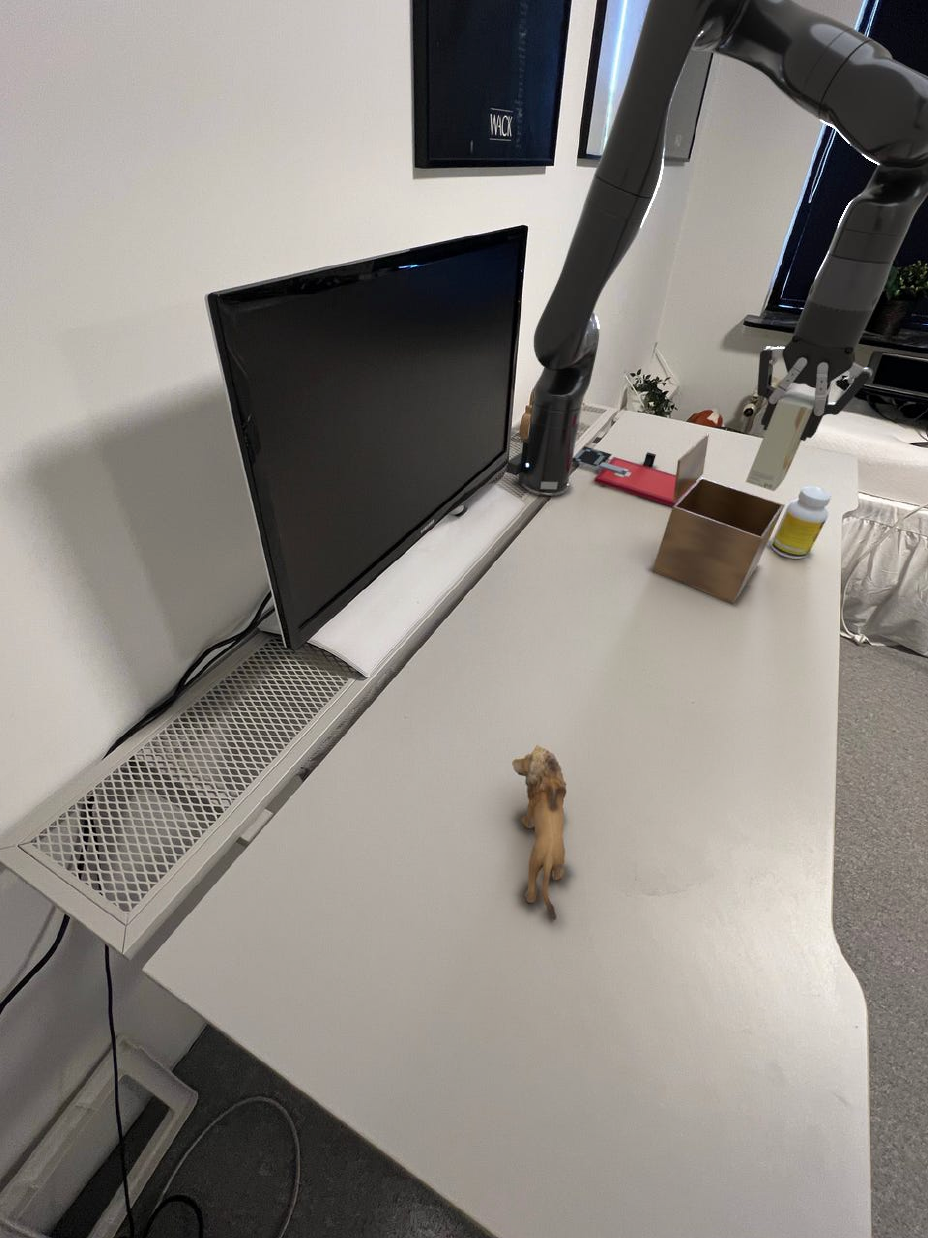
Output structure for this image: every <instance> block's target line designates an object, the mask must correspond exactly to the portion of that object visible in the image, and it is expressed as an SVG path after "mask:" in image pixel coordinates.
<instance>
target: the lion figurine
mask: <svg viewBox="0 0 928 1238" xmlns="http://www.w3.org/2000/svg"><path fill="white" fill-rule="evenodd" d="M511 765H512V767H513V770H514V772H515V773H517V775H518V776H522V777H525V780H524V781H525V782H524V784H525V786H526V793H527V795H526V796H527V799H528V803H527V806H526V816H523V817H522V819H521V824H522V825H523V826H524V827H526V828H527V829H530V828H531V829H532V828H533V827H534V834H535V838H536V841H535V842H534V844H533V847H532V849H531V851H530V857H529V860H528V868H527V869H528V870H527V871H528V872H527V873H528V887H527V890H526V891H525V892H524V899H525V902H527V903H531V904H532V903H535V902H536V900H537V893H538V888H537V878H538V875H539V872H540V871H541V870H542V871H543V872H542V879H541V896H542V899H543V902H544V904H545V907H546V910H547V915H548V916H549V918H550V919H551V920H553V921H556V920H557V914H556V911H555V906H554V905H553V904H552V902H551V900H550V898H549V893H548V892H549V891H548V890H549V889H548V888H549V882H550V876H551V877H552V880H554V881H558V880H561V879H562V878H563V876H564V874H565V871H564V869H563V866H564V864H565V858H566V848H565V840H564V837H563V833H564V823H565V812H564V807H563V805H564V801H565V800H564V799H565V797H566V794H567V787H566V786H567V783H566V782H565V780H564V776H563V772H562V767H561V766H560V765H559V761H558V760H557V758H556V756H555V754H554V753H553V752H550V751H549V750H548V749H547V748H545V747H542V746H540V745H539V744H536V745H535V747H534V749H533V750H532V751H531V753H528V754H526V755H525V756H524V757H523V758H515V759H513V760H512V763H511ZM542 868H543V869H542Z"/></svg>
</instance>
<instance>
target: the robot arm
mask: <svg viewBox="0 0 928 1238" xmlns="http://www.w3.org/2000/svg"><path fill="white" fill-rule="evenodd" d="M691 51H695V52H708V53H712V54H716V55H719V56H723V57H726V58H729V59H732V60H736V61H738V62H741V63H743V64H745V65H747V66H748V67H751V68H752V69H754V70H756V71H757V72H758V73H760V74H761V75H762V76H763V77H765V78H766V79H767V80H768V82H770V83H771V84H772V85H773V87H774V88H776V89H777V90H778V92H780V94H782V95H783V96H784V97H786V98H787V99H788V100H789V101H791V102H792V103H793V104H795V105H796V106H798V107H799V108H800V109H802V110H804V111H805V112H807V113H808V114H810V115H811V116H812V117H814V118H816V119H817V120H819V121H821V122H822V123H824V124H826V125H827V126H830V127H832V128H834V129H835V130H836V131H837V132H838V133H839V135H840V136H841V137H842V138H843V139H844V140H845V141H846V142H847V143H848V144H850V146H852V147H853V149H855V150H856V151H857V152H858V153H860V154H861V155H862V156H864V157H865V158H866V159H868V160H869V161H871V162H873V163H875V164H877V166H876V167H875V170H874V172H873V173H872V176H871V178H870V180H869V181H868V184H867V186H866V187H865V188H864V190H863V191H862V192H861V193H860V194H858V195H857V196H856V197H854V198H853V199H852V200H851V201H850V202H849V203H848V205H847V206H846V208H845V210H844V212H843V214H842V216H841V218H840V220H839V223H838V226H837V228H836V230H835V232H834V236H833V238H832V240H831V242H830V243H831V244H830V245H829V249H828V250H827V253H826V256H825V258H824V260H823V262H822V264H821V266H820V267H819V270H818V271H817V273H816V276H815V278H814V281H813V283H812V284H811V286H810V289H809V291H808V296H807V299H806V302H805V304H804V306H803V309H802V310H801V311H802V312H801V314H800V317H799V319H798V322H797V324H796V326H795V329H794V332H793V335H792V337H791V339H790V341H788V343H786V344H785V345H784V346H780V347H779V346H777V347H774V346H772V345H769V346H765V348H763V350H761V351H760V353H759V360H758V361H759V362H758V375H757V389H756V390H757V391H756V393H757V395H758V396H759V397H763V398H765V399H766V400H767V405H766V408H765V410H764V412H763V415H762V417H761V420H760V425H762V426H763V428H762V430H763V431H766V430H767V428H768V425H769V423H770V420H771V418H772V415H773V413H774V410H775V408H776V405H777V403H778V401H779V400H780V399H781V398H782V397H783V395H784V394H786V393H787V392H788V391H789V388H791V386H792V385H793V384H796V385H806V386H808V387H810V388H813V389H814V396H815V405H814V411H813V412H812V414H811V415H810V417H809V419H808V422H807V424H806V426H805V428H804V431H803V433H802V435H801V437H800V440H801V442H802V441H803V442H806V440H807V439H811V438H812V437H813V436H814V435H815V434H816V433H817V431H818V428H819V425H820V424H821V422H822V420H823V417H825V416H826V415H833V416H837V415H839V414H840V413H841V412H842V411H843V410H844V408H845V407H846V406H847V405H848V404H849V403H850V402H851V401H852V399H853V398H854V397H855V396H856V395H857V394H858V393H859V391H860V390H861V389H862V388H863V387H864V386H865V385H866V383H867V382H868V381H869V380H870V379H871V377H872V375H873V373H874V370H873V368H872V367H863V366H861V365H860V364H858V363H856V362H855V361H856V357H855V353H856V349H857V348H858V345H859V343H860V340H861V339H862V336H863V334H864V332H865V329H867V325H868V323H869V322H870V319H871V316H872V314H873V313H874V310H875V308H876V306H877V304H878V302H879V300H880V298H881V295H882V293H883V291H884V288H885V286H886V284H887V282H888V278H889V275H890V272H891V269H892V266H893V264H894V261H895V259H896V256H897V255H898V252H899V250H900V248H901V246H902V244H903V242H904V239H905V237H906V235H907V233H908V231H909V228H910V226H911V223H912V221H913V218H914V216H915V215H916V213H917V211H918V209H919V208H920V206H922V203H924V201H925V200H926V198H927V196H928V76H927V75H926V74H923V73H921V72H919V71H917V70H915V69H913V68H911V67H908V66H907V65H905V64H903V63H901V62H899V61H897V60H896V59H893V56H892V54H891V53H890V51H889V50H888V49H887V48H885V47H884V46H883V45H882V44H880V43H879V42H877V41H875V40H874V39H872V38H871V37H869V36H867V35H865V34H863V33H862V32H860V31H859V30H856V29H855V28H853V27H851V26H849V25H848V24H845V23H843V22H841V21H839V20H838V19H835V18H833V17H831V16H828V15H825V14H823V13H821V12H818V11H816V10H812V9H810V8H807V7H805V6H804V5H801V4H800V3H797V2H796V1H794V0H649V1H648V5H647V8H646V11H645V15H644V19H643V22H642V26H641V30H640V34H639V37H638V41H637V45H636V48H635V52H634V55H633V59H632V63H631V66H630V70H629V73H628V76H627V80H626V82H625V86H624V89H623V92H622V96H621V98H620V101H619V104H618V107H617V109H616V113H615V116H614V119H613V122H612V124H611V128H610V131H609V134H608V137H607V140H606V142H605V145H604V149H603V151H602V154H601V157H600V159H599V162H598V164H597V166H596V169H595V172H594V175H593V177H592V180H591V183H590V186H589V188H588V191H587V193H586V197H585V200H584V203H583V206H582V210H581V212H580V216H579V219H578V221H577V223H576V227H575V230H574V232H573V236H572V238H571V241H570V244H569V247H568V250H567V254H566V256H565V258H564V259H565V260H564V262H563V266H562V268H561V271H560V274H559V276H558V279H557V280H556V284H555V285H554V287H553V290H552V292H551V295H550V297H549V299H548V301H547V303H546V305H545V307H544V310H543V311H542V313H541V315H540V318H539V320H538V322H537V324H536V328H535V330H534V333H533V351H534V354H535V357H536V359H537V361H538V362H539V363H540V365H541V366H542V367H543V369H542V372H541V374H540V376H539V378H538V380H537V381H536V383H535V384H534V388H533V392H532V401H531V402H532V403H531V408H530V417H529V426H528V434H527V437H525V438H524V439H522V448H521V452H520V453H517V454H516V455H515V456H513V457H512V458H510V459H509V460H507V461H508V465H507V469H506V468H505V472H506V473H508V474H510V475H513V476H518V480H517V484H518V485H520V486H522V488H523V489H524V490H525V491H527V492H528V493H530V494H532V495H536V496H538V497H539V496H540V497H550V498H551V497H557V496H558V497H559V496H561V495H563V494H565V493H566V492H567V491H568V489H569V482H570V475H571V470H572V465H573V461H572V459H573V457H574V454H575V447H576V442H577V435H578V432H579V431H578V430H579V424H580V420H581V414H582V408H583V405H584V398H585V395H586V393H587V391H588V389H589V386H590V384H591V380H592V376H593V371H594V368H595V362H596V358H597V352H598V348H599V340H600V324H599V320H598V317H597V315H596V314H595V313H594V311H595V308H596V305H597V303H598V301H599V298H600V296H601V294H602V292H603V290H604V288H605V287H606V285H607V283H608V281H609V280H610V278H611V277H612V276H613V274H614V272H616V270H617V268H618V267H619V265H620V264H621V263H622V261H623V259H624V257H625V256H626V255H627V253H628V251H629V250H630V249H631V246H632V245H633V243H634V242H635V240H636V238H637V237H638V234H639V233H640V231H641V229H642V226H643V224H644V222H645V219H646V218H647V216H648V213H649V210H650V208H651V206H652V203H653V201H654V199H655V197H656V195H657V191H658V188H659V187H660V183H661V180H662V175H663V170H664V165H665V163H664V162H665V155H666V154H665V152H666V142H667V141H666V140H667V128H668V119H669V113H670V108H671V104H672V101H673V97H674V94H675V92H676V89H677V85H678V83H679V81H680V77H681V76H682V73H683V70H684V68H685V65H686V63H687V60H688V58H689V57H690V54H691ZM780 357H783V362H784V365H785V369H786V375H785V376H784V377H783V379H782V380H781V382H779V384H778V385H777V387H776V388H775V387H774V386H772V382H773V373H774V365H776V364H777V363H778V362H779V360H780ZM846 372H849V376H848V377H847V383H848V384H849V385H848V387H847V388H846V389H845V391H844V392H843V393H842V394H841V395H840V396H839V397H838V399H837V400H836V401H829V400H830V392H831V390H832V389H831V388H832V382H833V381H835V380H836V379H838V378H839V377H840V376H842V375H843V374H845V373H846Z"/></svg>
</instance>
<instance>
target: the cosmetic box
mask: <svg viewBox="0 0 928 1238" xmlns="http://www.w3.org/2000/svg"><path fill="white" fill-rule="evenodd" d="M814 405H815V395H812V394H809V393H804V392H800V391H797V390H793V389H788V390H787V391H786V392H785V394H784V395H783V396H782V398H781V399H780V400H779V401H778V403H777V405H776V408H775V410H774V413H773V415H772V418H771V420H770V423H769V425H768V428H767V430H765V433H764V435H763V438H762V439H761V440H762V441H761V443H760V445H759V448H758V450H757V453H756V455H755V458H754V461H753V463H752V466H751V468H750V470H749V473H748V475H747V478H746V480H745V483H747V484H751V485H754V486H757V487H760V488H763V489H766V490H768V491H772V492H775V491H776V490H777V489H778V488H779V487H780V485H782V483H783V482H784V480H785V479H786V477H787V474H788V472H789V469H790V468H791V465H792V463H793V461H794V458H795V457H796V454H797V451H798V450H799V447H800V445H801V442H802V440H800V437H801V435H802V433H803V431H804V428H805V426H806V424H807V422H808V419H809V417H810V415H811V414H812V412H813V411H814Z"/></svg>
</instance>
